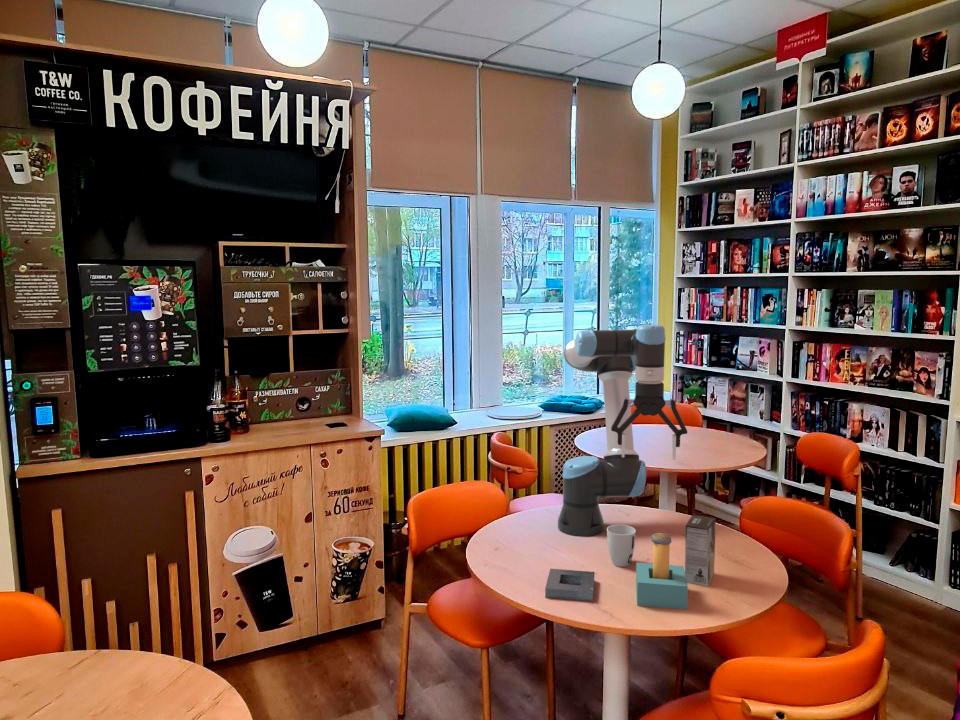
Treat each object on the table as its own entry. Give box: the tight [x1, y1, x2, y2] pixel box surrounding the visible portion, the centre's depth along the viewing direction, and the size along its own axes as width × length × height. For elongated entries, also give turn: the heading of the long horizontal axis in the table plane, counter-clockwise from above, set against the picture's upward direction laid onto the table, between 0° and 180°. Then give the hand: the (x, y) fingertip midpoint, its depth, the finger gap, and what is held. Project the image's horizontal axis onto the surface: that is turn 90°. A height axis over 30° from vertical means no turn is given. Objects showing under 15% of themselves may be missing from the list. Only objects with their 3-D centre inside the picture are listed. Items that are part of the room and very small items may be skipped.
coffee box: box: [684, 514, 716, 587], centre depth 177 cm, size 9×6×16 cm
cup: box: [606, 524, 637, 568], centre depth 188 cm, size 8×8×10 cm
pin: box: [651, 532, 672, 580], centre depth 167 cm, size 5×5×16 cm
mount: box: [545, 568, 595, 602], centre depth 173 cm, size 12×12×2 cm
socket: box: [635, 562, 689, 610], centre depth 168 cm, size 12×12×6 cm
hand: (648, 457), depth 181 cm, fingers open, 13 cm apart
